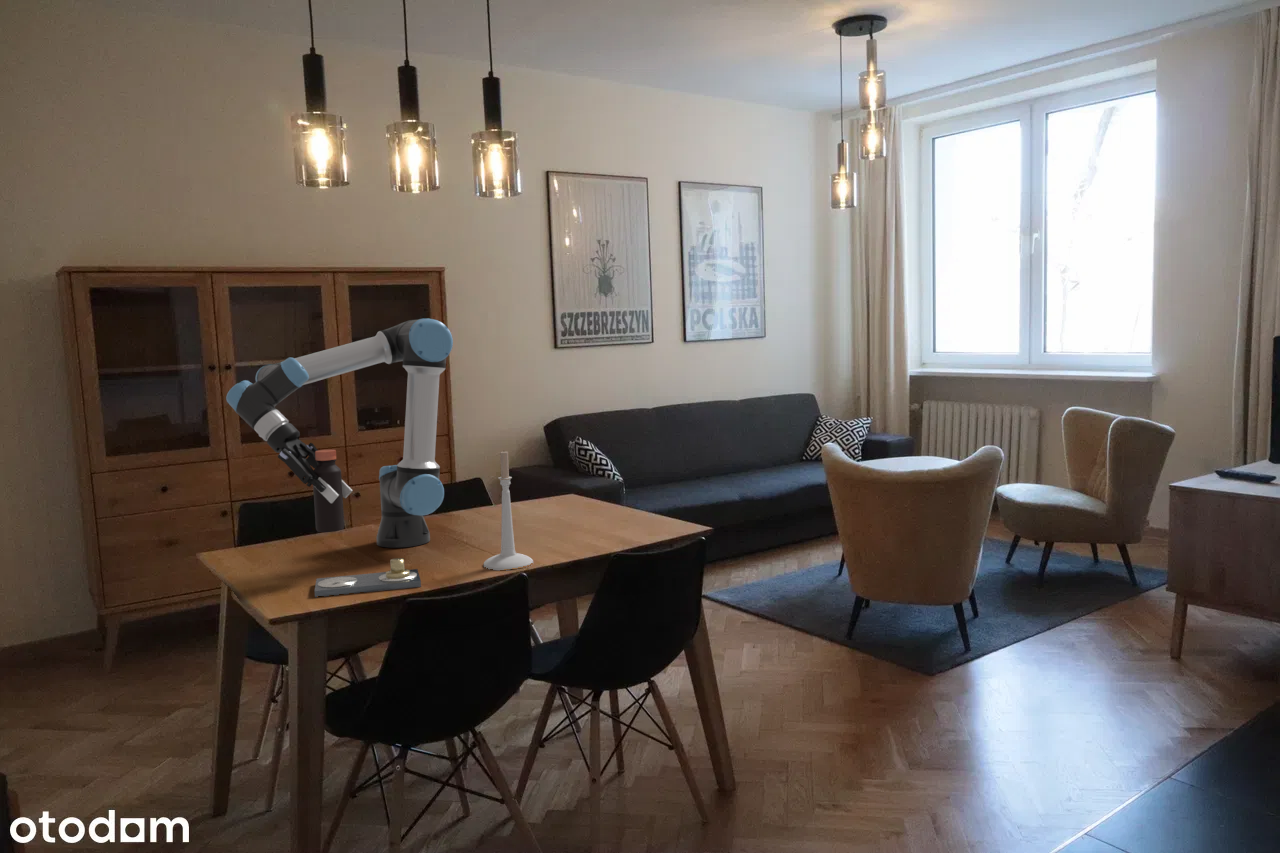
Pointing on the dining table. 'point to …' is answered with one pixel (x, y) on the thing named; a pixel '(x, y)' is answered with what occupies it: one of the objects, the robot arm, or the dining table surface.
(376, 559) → the dining table surface
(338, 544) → the dining table surface
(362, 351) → the robot arm
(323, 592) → the plate
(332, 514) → the vinegar
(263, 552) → the dining table surface
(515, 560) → the candlestick
